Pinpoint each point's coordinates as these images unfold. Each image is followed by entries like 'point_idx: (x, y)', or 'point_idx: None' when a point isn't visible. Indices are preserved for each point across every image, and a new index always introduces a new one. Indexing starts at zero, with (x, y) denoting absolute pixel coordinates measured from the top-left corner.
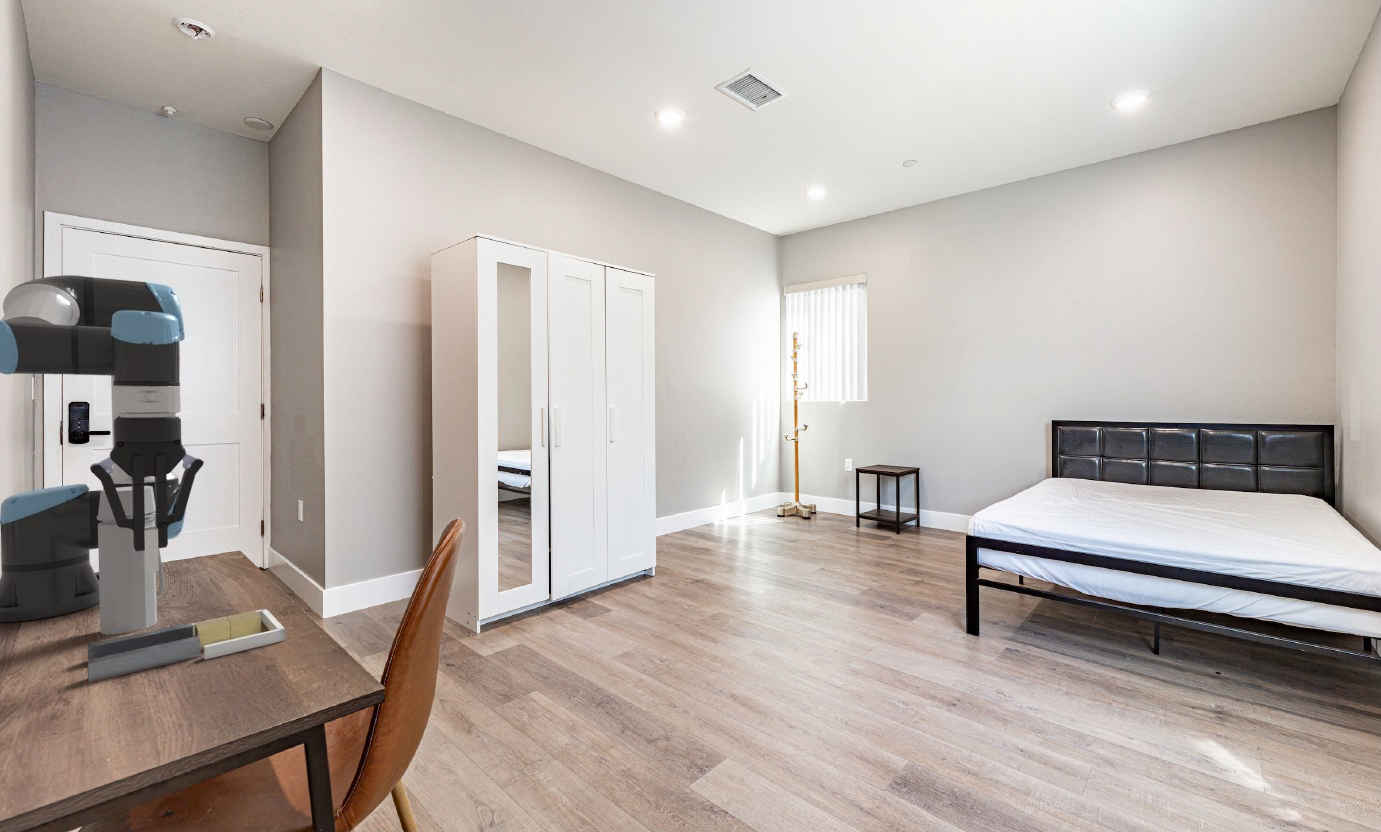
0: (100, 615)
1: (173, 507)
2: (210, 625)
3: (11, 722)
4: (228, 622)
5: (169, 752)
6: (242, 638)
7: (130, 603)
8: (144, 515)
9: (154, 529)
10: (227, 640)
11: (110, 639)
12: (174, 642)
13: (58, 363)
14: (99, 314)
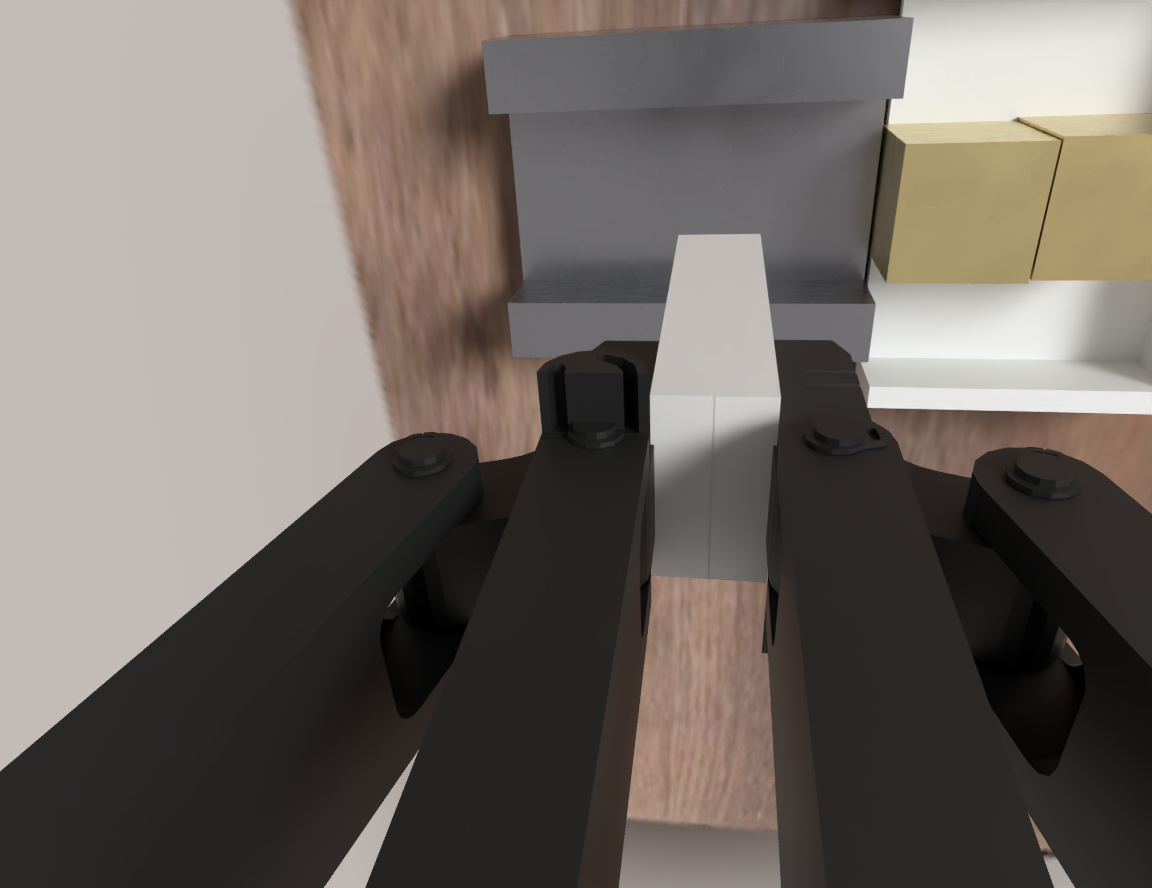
0: None
1: (1050, 574)
2: (949, 250)
3: (389, 419)
4: (1027, 263)
5: (684, 795)
6: (1010, 406)
7: None
8: (638, 696)
9: (736, 575)
10: (958, 387)
11: (565, 40)
12: (781, 321)
13: None
14: None
